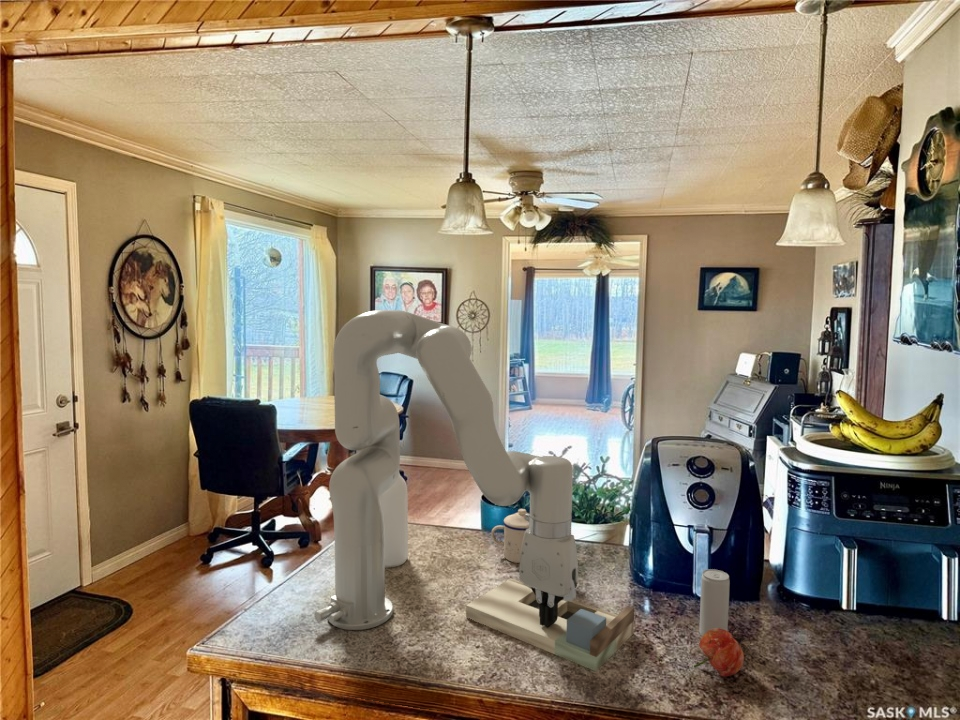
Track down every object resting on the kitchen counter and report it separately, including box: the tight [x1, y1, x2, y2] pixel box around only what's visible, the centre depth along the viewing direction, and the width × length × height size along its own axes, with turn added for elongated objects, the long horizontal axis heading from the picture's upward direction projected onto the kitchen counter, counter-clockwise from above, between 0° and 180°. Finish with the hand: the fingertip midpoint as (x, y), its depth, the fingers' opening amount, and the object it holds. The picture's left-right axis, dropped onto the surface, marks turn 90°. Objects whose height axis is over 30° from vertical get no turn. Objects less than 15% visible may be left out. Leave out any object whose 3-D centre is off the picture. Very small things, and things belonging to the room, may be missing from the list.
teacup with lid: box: [491, 508, 530, 564], centre depth 147 cm, size 12×9×12 cm
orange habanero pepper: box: [693, 628, 747, 678], centre depth 101 cm, size 7×7×10 cm
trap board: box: [465, 577, 635, 672], centre depth 115 cm, size 15×28×5 cm, turn 52°
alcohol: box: [380, 472, 409, 568], centre depth 143 cm, size 9×9×30 cm
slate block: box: [566, 609, 606, 651], centre depth 106 cm, size 5×5×4 cm
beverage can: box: [699, 568, 731, 637], centre depth 111 cm, size 5×5×12 cm
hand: (548, 623), depth 111 cm, fingers closed
